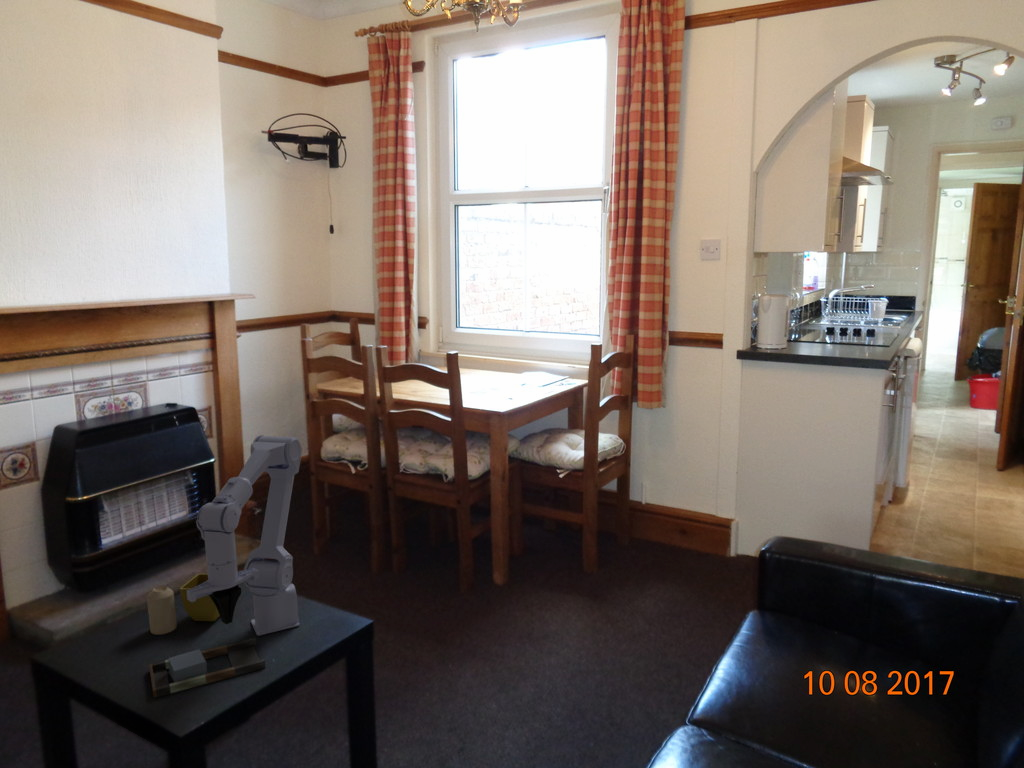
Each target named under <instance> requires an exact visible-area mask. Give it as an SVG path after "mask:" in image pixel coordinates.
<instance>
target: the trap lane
mask: <svg viewBox="0 0 1024 768" xmlns="http://www.w3.org/2000/svg"><path fill="white" fill-rule="evenodd" d="M255 647H257V642H256V637H252V638H248V639H244V640H241V641H237V642H233V643H229V644H225V645H221V646H217V647H212V648H209V649H205V650H202V651H201V650H200V652H201V653H202V655H203V657H204V659H205V660H208V659H211V658H215V657H218V656H219V657H220V656H223V655H227V656H228V659H229V662H230V666H231V667H228V668H223V669H221V670H216V671H213V672H209V673H207V674H205V675H201V676H197V677H193V678H190V679H186V680H182V681H178V682H175V683H174V682H172V683H170V682H169V676H168V673H167V672H168V671H167V670H169V661H168V659H165V660H161V661H158V662H154V663H149V664H148V667H149V674H150V681H151V688H152V693H153V694H152V695H153V698H154V699H155V698H158V697H162V696H166V695H170V694H173V693H177V692H178V693H179V692H181V691H184V690H188V689H191V688H196V687H199V686H203V685H206V684H210V683H213V682H217V681H221V680H224V679H228V678H233V677H236V676H239V675H243V674H247V673H251V672H255V671H259V670H262V669H266V661H265V658H262V659H260V658H259V655H258V653H257V650H256V649H255Z"/></svg>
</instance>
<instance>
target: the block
mask: <svg viewBox="0 0 1024 768" xmlns="http://www.w3.org/2000/svg"><path fill="white" fill-rule="evenodd" d="M200 651H201V649H199V648H198V649H195V650H192V651H189V652H185V653H181V654H178V655H175V656H172V657H168V659H167V660H168V661H169V669H168V670H169V675H170V676H171V679H172V681H173V683H175V682H178V681H182V680H186V679H190V678H193V677H197V676H201V675H205V674H208V669H207V661H206V659H204V657H203V655H202V653H201V652H200Z"/></svg>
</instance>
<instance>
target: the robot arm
mask: <svg viewBox="0 0 1024 768" xmlns="http://www.w3.org/2000/svg"><path fill="white" fill-rule="evenodd" d="M302 454H303V447H302V445H301V442H300V440H299V439H298V437H296V436H275V435H274V436H272V435H260V434H259V435H257V436H256V437H255V438H254V439H253V442H252V443H251V444H250V456H249V458H248V459H247V461H246V462H245V464H244V466H243V468H242V469H241V471H240V473H239V474H238V476H233V477H231V478H229V479H228V480H227V482H226V483H225V484H224V486H223V487H222V488H221V489H220V491H219V492H218V493H217V495H216V496H215V497H214V498H213V500H212V501H211V502H208V503H205V504H203V505H202V506H201V507H200V508H199V509H198V513H197V518H196V520H195V523H196V527H197V529H198V530H199V531H200V536H201V539H202V540H203V541H204V548H205V558H206V568H207V570H206V571H207V574H208V580H207V581H205V582H204V583H202V584H200V585H198V586H196V587H194V588H192V589H190V590H187V600H189V601H190V602H194V601H196V599H198V598H201V597H204V596H207V595H209V597H210V598H211V599H212V601H213V602H214V604H215V606H216V607H217V610H218V612H219V614H220V616H219V617H220V621H221V622H222V623H223V624H225V625H228V624H231V623H233V618H234V614H235V613H234V612H235V609H236V605H237V603H238V600H239V598H240V597H241V594H242V587H240V586H239V585H240V584H243V583H244V585H245V586H246V587H248V589H249V592H251V593H252V599H253V611H254V612H253V613H254V614H253V615H254V618H253V619H251V620H250V623H251V625H252V627H253V630H254V632H255V635H256V636H258V637H260V636H263V635H264V636H265V635H267V634H271V633H275V632H279V631H283V630H286V629H291V628H295V627H299V626H300V622H299V621H300V620H299V606H298V597H297V590H296V586H295V585H294V584H293V583H292V581H293V578H294V577H293V576H294V569H293V561H294V560H293V559H294V557H293V555H292V554H290V553H289V552H288V551H287V550H286V549H285V548H284V543H285V537H286V531H287V524H288V518H289V512H290V504H291V498H292V493H293V486H294V480H295V475H296V474H298V473H299V471H300V466H301V459H302ZM264 472H265V473H267V474H268V475H269V477H270V483H269V489H268V494H267V499H266V501H267V502H266V506H265V513H264V520H263V525H262V531H261V538H260V543H259V546H258V547H256V548H255V549H253V550H252V551H251V552H249V554H248V556H247V557H248V558H247V561H246V564H245V565H244V568H243V570H240V571H239V570H238V560H237V550H236V535H235V534H236V533H235V530H236V529H237V527H238V525H239V522H240V518H241V516H242V513H243V512H242V511H243V510H242V509H243V508H244V507H245V505H246V504H247V502H248V501H249V499H250V498H251V496H252V495H253V493H254V489H253V485H254V484H255V482H256V481H257V480H258V479H259V478H260V477H261V476H262V474H263V473H264ZM265 559H270V560H265Z"/></svg>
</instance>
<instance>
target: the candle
mask: <svg viewBox="0 0 1024 768" xmlns="http://www.w3.org/2000/svg"><path fill="white" fill-rule="evenodd" d="M146 601H147V611H148V619H149V631H150V633H151V634H152V635H156V636H157V635H160V636H161V635H165V634H168V633H172V632H173V631H175V630H176V629H177V627H178V626H177V615H176V614H177V613H176V606H175V603H176V602H175V594H174V591H173V589H171V588H169V587H168V586H167V585H160V586H158V587H153V588H152V590H151V591H150V592H149V593H148V594H147V595H146Z"/></svg>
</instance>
